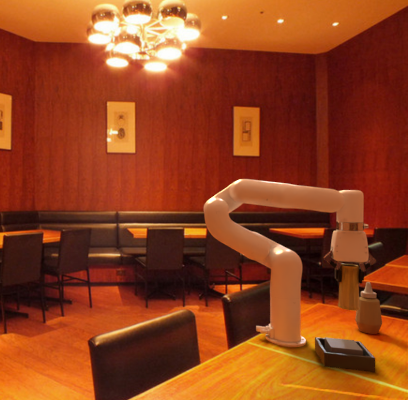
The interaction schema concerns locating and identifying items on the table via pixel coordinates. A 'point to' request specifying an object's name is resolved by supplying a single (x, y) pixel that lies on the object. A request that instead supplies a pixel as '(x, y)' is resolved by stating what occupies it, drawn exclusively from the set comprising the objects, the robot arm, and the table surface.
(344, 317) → the table surface
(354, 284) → the vase
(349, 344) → the block
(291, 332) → the robot arm
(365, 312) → the squeeze bottle
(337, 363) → the crate
